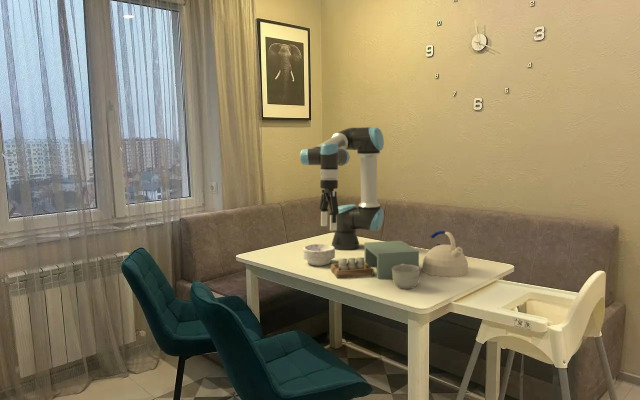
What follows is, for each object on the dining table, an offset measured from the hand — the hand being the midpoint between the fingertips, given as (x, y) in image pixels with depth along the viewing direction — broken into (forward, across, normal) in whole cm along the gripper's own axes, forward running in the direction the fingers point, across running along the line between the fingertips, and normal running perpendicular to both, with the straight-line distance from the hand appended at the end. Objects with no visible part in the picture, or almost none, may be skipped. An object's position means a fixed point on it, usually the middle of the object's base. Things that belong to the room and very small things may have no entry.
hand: (328, 228), depth 209 cm
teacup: (+21, +24, +26) cm, 41 cm away
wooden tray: (+21, +1, +11) cm, 23 cm away
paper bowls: (+20, -20, +2) cm, 29 cm away
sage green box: (+20, +2, +29) cm, 35 cm away
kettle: (+20, +10, +52) cm, 56 cm away
